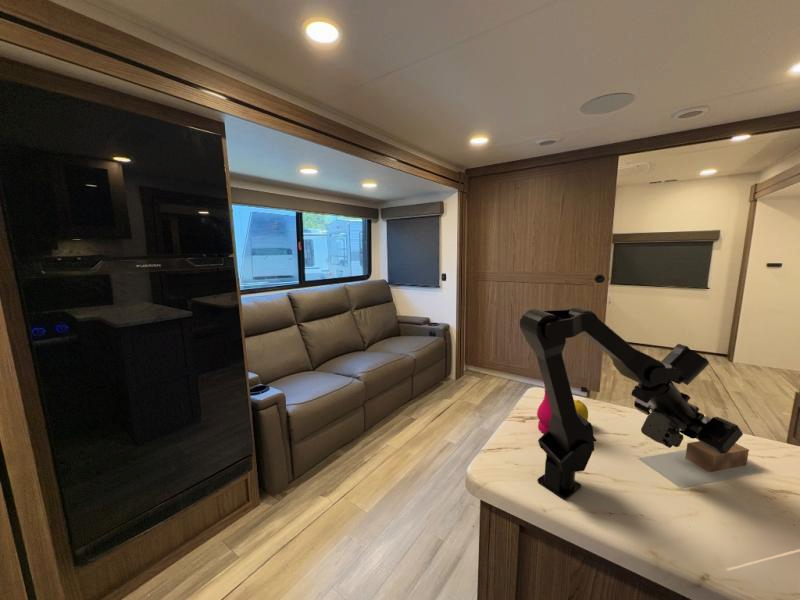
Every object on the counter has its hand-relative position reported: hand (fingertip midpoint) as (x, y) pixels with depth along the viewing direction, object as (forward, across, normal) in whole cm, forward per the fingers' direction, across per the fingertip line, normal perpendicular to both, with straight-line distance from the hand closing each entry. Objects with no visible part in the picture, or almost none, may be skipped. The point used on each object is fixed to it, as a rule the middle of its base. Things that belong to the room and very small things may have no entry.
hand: (698, 437), depth 73 cm
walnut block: (+4, 0, -3) cm, 5 cm away
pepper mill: (-11, -21, -21) cm, 32 cm away
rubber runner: (+6, 0, -4) cm, 7 cm away
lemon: (-4, -21, -15) cm, 26 cm away
